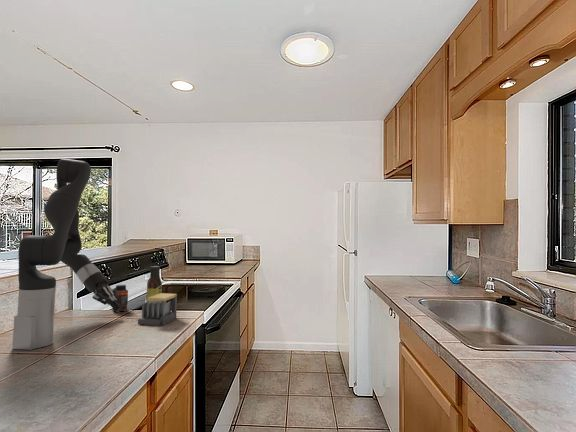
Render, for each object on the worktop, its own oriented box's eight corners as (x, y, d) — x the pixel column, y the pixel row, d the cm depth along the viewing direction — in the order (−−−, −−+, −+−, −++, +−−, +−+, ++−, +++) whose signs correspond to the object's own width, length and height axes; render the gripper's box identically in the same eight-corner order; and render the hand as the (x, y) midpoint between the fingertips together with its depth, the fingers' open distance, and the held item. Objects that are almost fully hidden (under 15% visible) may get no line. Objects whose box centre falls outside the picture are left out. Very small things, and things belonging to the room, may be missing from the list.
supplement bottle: (130, 309, 155) (131, 284, 156) (122, 312, 149) (123, 286, 150) (117, 309, 156) (118, 283, 156) (109, 312, 150) (110, 285, 150)
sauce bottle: (161, 313, 150) (163, 266, 151) (145, 314, 147) (147, 267, 148) (160, 310, 156) (162, 265, 157) (145, 310, 153) (147, 265, 154)
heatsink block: (163, 324, 133) (164, 304, 133) (141, 323, 133) (142, 303, 134) (170, 320, 138) (171, 301, 139) (149, 319, 139) (150, 300, 140)
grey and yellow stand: (163, 325, 130) (164, 298, 130) (137, 324, 131) (138, 297, 131) (176, 318, 141) (177, 293, 141) (152, 317, 142) (153, 292, 142)
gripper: (86, 272, 133) (115, 306, 131) (108, 269, 146) (134, 300, 144) (73, 286, 133) (101, 320, 131) (96, 281, 146) (122, 312, 144)
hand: (118, 309), depth 138 cm, fingers closed
